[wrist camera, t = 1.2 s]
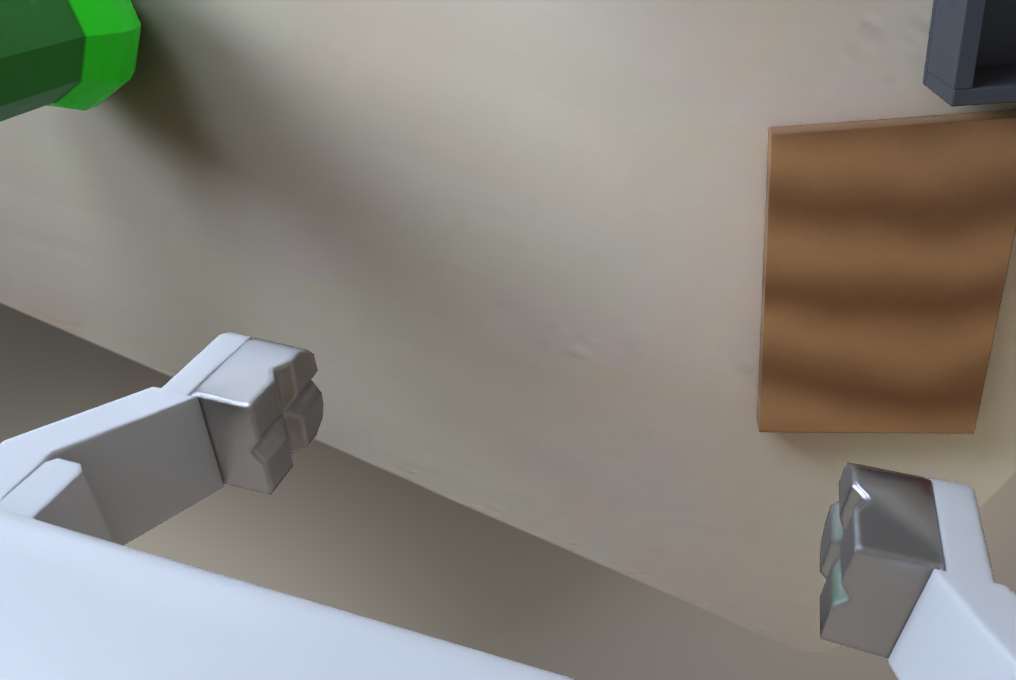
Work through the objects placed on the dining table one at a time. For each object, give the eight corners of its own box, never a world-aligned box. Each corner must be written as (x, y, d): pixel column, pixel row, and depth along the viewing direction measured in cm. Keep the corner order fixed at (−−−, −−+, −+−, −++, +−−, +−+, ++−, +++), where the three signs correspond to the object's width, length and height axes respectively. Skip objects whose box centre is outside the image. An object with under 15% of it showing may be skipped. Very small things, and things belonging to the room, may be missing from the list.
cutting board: (768, 127, 44) (771, 134, 43) (1028, 108, 41) (1039, 115, 40) (756, 419, 53) (759, 432, 52) (966, 420, 51) (974, 434, 49)
